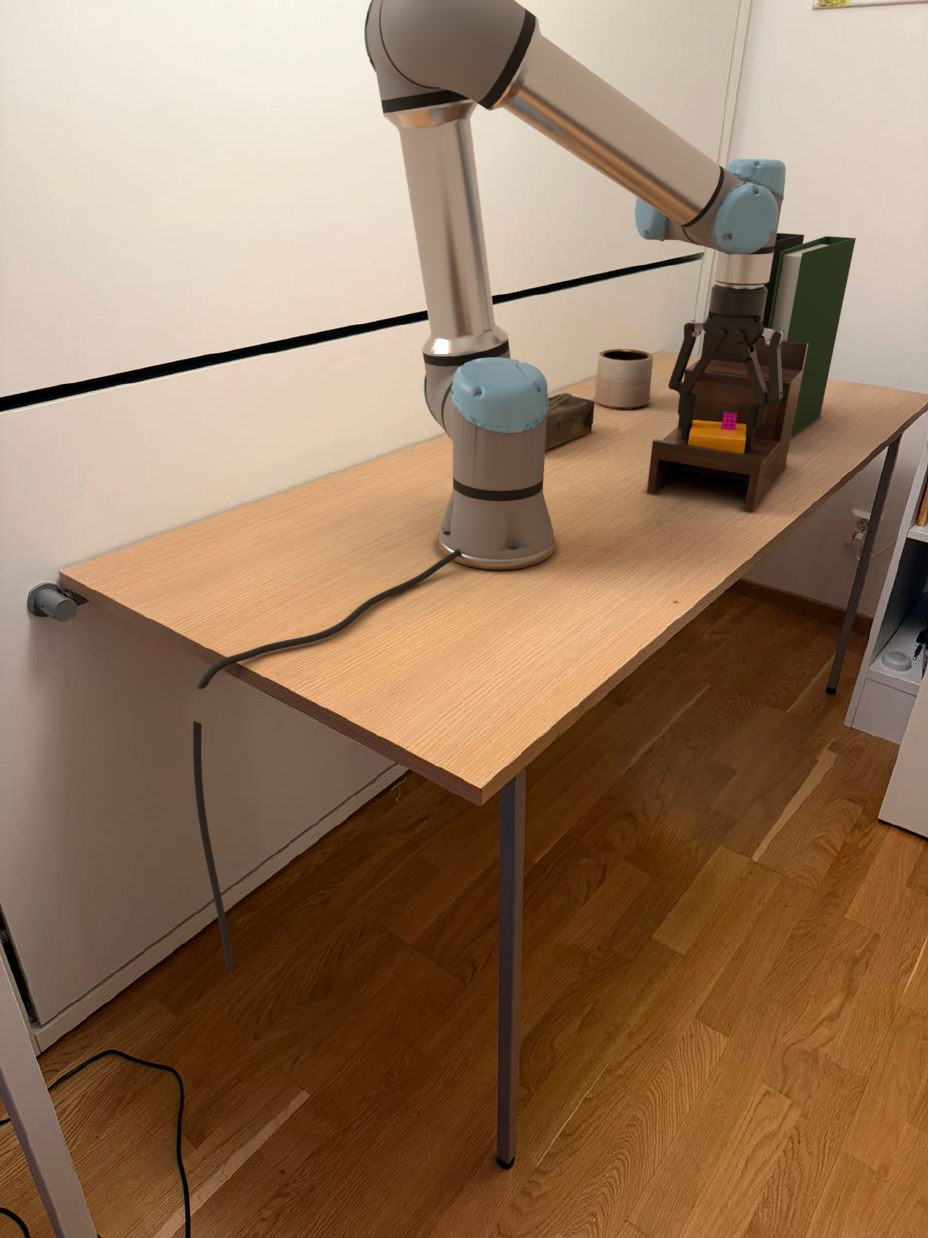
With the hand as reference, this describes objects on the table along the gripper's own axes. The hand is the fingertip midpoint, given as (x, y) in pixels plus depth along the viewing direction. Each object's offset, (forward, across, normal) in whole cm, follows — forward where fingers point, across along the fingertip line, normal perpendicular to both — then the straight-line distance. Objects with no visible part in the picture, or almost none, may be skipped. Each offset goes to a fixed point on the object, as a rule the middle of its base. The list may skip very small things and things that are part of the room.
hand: (716, 442), depth 134 cm
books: (+8, +1, -36) cm, 37 cm away
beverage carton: (+8, +32, -10) cm, 34 cm away
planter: (+8, +29, -40) cm, 50 cm away
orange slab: (0, 0, 0) cm, 0 cm away
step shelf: (+7, 0, -5) cm, 9 cm away
